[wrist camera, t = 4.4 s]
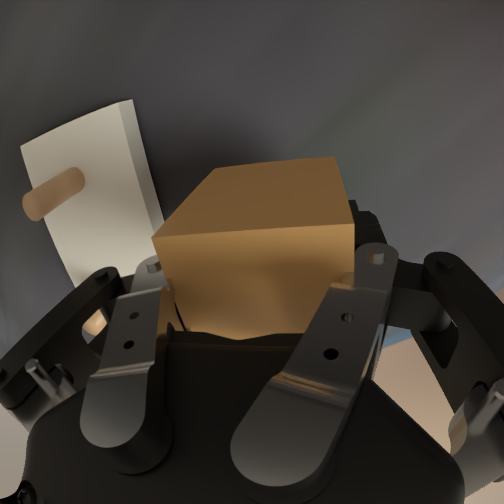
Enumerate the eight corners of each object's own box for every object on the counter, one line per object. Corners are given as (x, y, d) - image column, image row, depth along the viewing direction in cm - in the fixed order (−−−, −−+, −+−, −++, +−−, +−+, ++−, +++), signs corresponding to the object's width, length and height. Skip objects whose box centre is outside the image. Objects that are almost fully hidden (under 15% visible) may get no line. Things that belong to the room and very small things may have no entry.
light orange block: (334, 156, 11) (354, 223, 6) (339, 261, 14) (348, 365, 9) (214, 168, 13) (151, 237, 8) (236, 266, 15) (201, 362, 10)
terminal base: (132, 99, 14) (68, 115, 10) (194, 312, 22) (169, 371, 17) (34, 140, 16) (-23, 167, 12) (101, 308, 24) (70, 354, 19)
